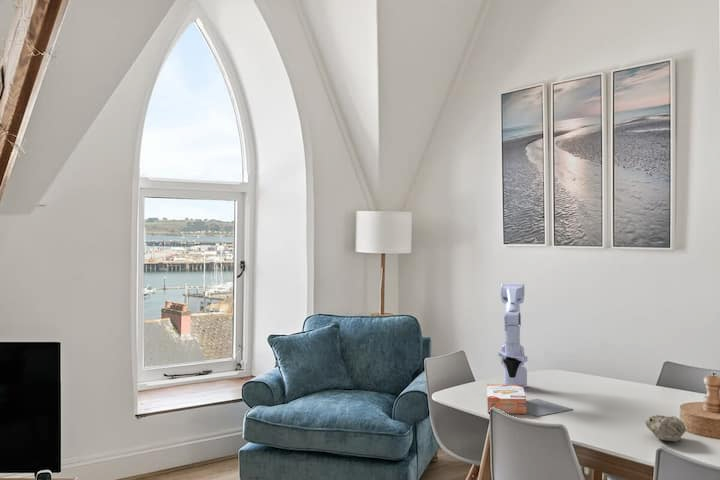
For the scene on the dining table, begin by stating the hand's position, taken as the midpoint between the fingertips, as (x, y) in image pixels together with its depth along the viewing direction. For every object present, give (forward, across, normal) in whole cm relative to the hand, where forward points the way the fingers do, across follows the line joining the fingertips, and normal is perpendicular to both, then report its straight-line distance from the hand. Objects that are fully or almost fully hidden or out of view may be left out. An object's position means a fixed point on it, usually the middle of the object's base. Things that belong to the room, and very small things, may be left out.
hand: (512, 377), depth 263 cm
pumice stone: (+9, +63, +6) cm, 64 cm away
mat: (+9, +14, 0) cm, 16 cm away
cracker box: (+5, -2, -3) cm, 6 cm away
